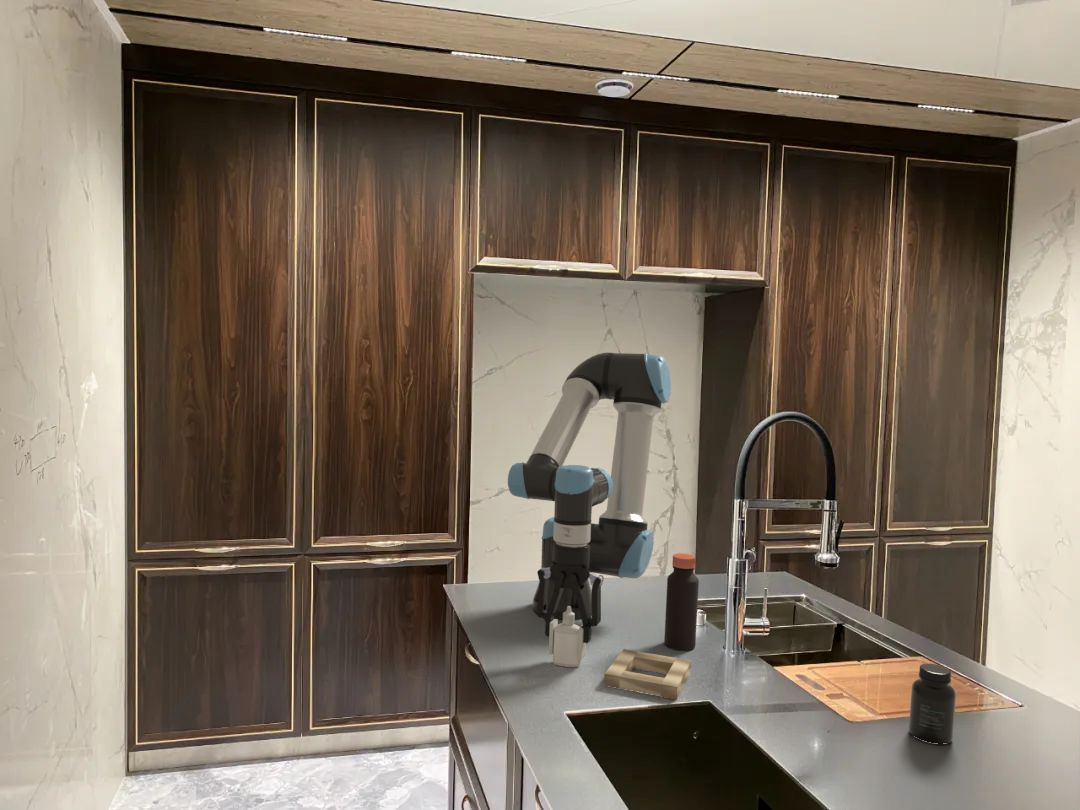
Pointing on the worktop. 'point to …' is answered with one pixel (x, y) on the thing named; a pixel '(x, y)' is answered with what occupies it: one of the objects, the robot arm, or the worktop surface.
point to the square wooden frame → (664, 687)
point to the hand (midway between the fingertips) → (567, 654)
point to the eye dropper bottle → (566, 641)
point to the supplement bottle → (932, 705)
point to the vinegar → (681, 604)
